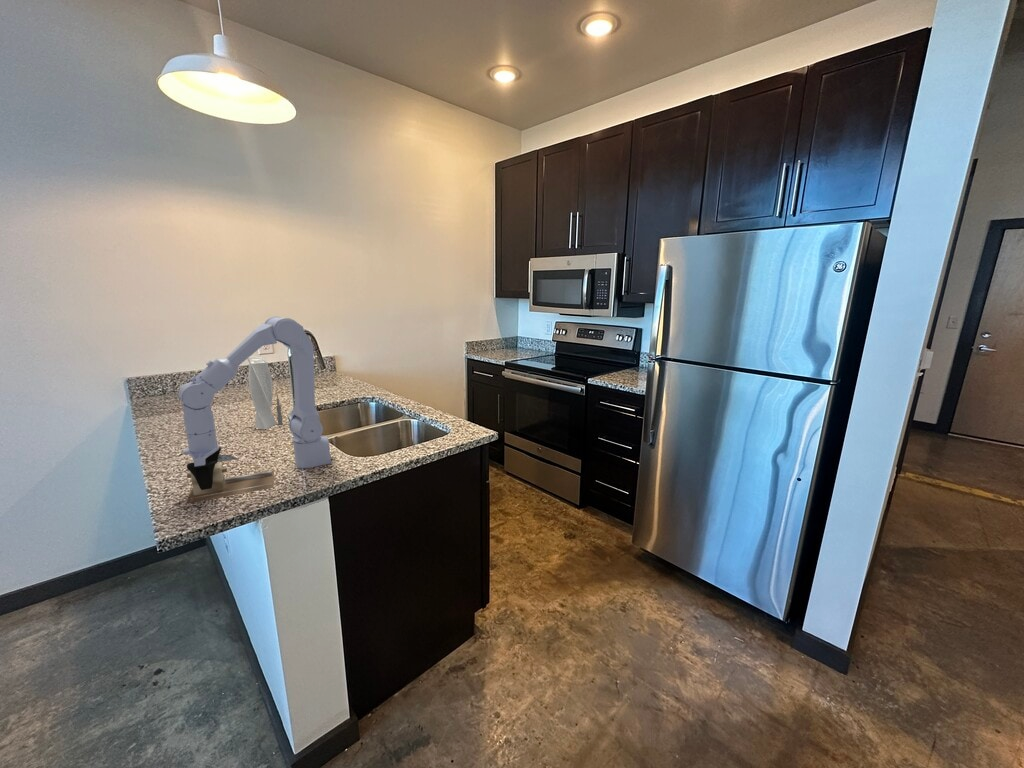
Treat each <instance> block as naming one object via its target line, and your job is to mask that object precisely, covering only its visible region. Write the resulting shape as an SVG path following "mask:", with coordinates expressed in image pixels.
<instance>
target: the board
mask: <svg viewBox="0 0 1024 768" xmlns="http://www.w3.org/2000/svg"><path fill="white" fill-rule="evenodd" d="M224 478H225V487H224V490H222V491H217V492H211V493H205V494H200V495H194V493H193V487H192V488H191V491H190V493H189V495H188V497H187V500H186V501H185V504H186V505H187V504H192V503H197V502H203V501H209V500H213V499H220V498H225V497H231V496H235V495H240V494H248V493H253V492H256V491H257V492H258V491H263V490H264V491H265V490H267V489H274V488H275V486H274V485H275V483H274V482H275V470H274V469H273V470H272V469H271V470H267V471H262V472H261V471H260V472H253V473H249V474H243V475H235V476H230V477H224Z"/></svg>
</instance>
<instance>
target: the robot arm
mask: <svg viewBox="0 0 1024 768" xmlns="http://www.w3.org/2000/svg"><path fill="white" fill-rule="evenodd" d="M278 343H281V344H283V346H285V347H286V348H288V349H289V350H290V351H291V352H292V365H293V367H292V368H293V369H292V370H293V393H294V394H293V395H294V396H293V397H294V399H293V400H294V406H293V409H292V410H291V418H290V420H289V423H288V428H289V430H290V431H291V433H292V434H293V438H292V442H293V443H292V444H293V445H292V446H293V451H294V454H293V455H294V461H295V462H294V463H295V467H296V468H298V469H299V468H300V469H308V468H310V469H311V468H313V467H318V466H323V465H328V464H331V463H332V461H331V460H332V456H331V455H332V454H331V451H330V450H331V449H330V441H329V437H328V436H327V435H325V436H323V435H322V434H323V433H324V427H323V424H322V423H321V421H320V414H319V412H318V410H317V408H316V396H315V395H316V394H315V393H316V392H315V391H316V390H315V389H316V388H315V355H314V354H315V353H314V344H313V342H312V340H311V339H310V338H309V336H308V335H307V333H306V331H305V329H304V326H303V325H301V324H300V323H299V322H297V321H296V320H294V319H292V318H289V317H280V316H272V317H269V318H268V319H266V320H265V321H264V323H261V324H259V325H258V326H256V328H255V329H254V330H252V332H251V333H250V334H249V335H247V337H246V338H244V340H242V341H241V342H240V343H239V344H238V345H237V346H236V347H235V348H234V349H233V350H232V351H231V352H230V353H229V354H228V355H227V356H226V357H224V358H216V359H214V360H209V361H208V362H207V363H206V366H207V367H205V368H204V369H202V371H201V372H200V373H198V374H197V375H196V376H192V377H190V379H189V380H190V382H186V383H185V384H183V385H182V386H181V387H180V388H179V390H178V394H177V397H178V400H179V401H180V402H181V403H182V412H183V417H182V418H183V422H184V428H185V434H186V441H187V446H188V448H185V449H183V451H182V454H183V455H189V456H190V457H191V458H192V459H193V462H189V463H187V464H186V468H187V470H188V472H191V473H192V474H193V475H194V477H195V479H196V481H197V483H198V485H199V487H200V489H201V490H206V489H211V488H212V485H213V471H214V466H215V464H216V463H219V462H218V456H219V454H221V451H222V446H219V445H220V444H218V439H217V431H216V425H215V419H214V412H213V410H212V403H213V400H214V395H215V394H217V393H218V392H220V391H221V390H222V389H223V388H224V387H225V386H226V385H227V384H228V383H230V381H232V380H233V379H234V378H235V377H236V376H237V375H238V367H239V366H241V365H242V364H243V363H244V362H245V361H246V360H248V359H247V358H249V357H252V355H254V353H256V352H257V351H258V350H259V349H260V348H262V347H264V346H269V345H270V346H271V345H276V344H278ZM249 359H250V358H249Z"/></svg>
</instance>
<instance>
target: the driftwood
mask: <svg viewBox="0 0 1024 768" xmlns="http://www.w3.org/2000/svg"><path fill="white" fill-rule="evenodd" d="M232 460H233V461H234V460H239V458H238V457H236V456H234V455H231V454H221V453H219V456H218V462H217V463H221V462H229V461H232Z"/></svg>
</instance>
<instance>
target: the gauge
mask: <svg viewBox="0 0 1024 768" xmlns="http://www.w3.org/2000/svg"><path fill="white" fill-rule="evenodd" d="M189 472H190V471H189ZM225 473H228V468H227V467H224V466H223V461H221V462H217V463H216V464H215V466H214V471H213V485H212V488H211V489H206V490H201V489H200V487H199V485H198V483H197V481H196V479H195V477H194V475H193V474H192V473H191V472H190V473H187V474H186V477H187V479H190V480H191V486H192V488H193V493H194V495H200V494H205V493H211V492H217V491H222V490H224V487H225V478H226V477H225Z"/></svg>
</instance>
